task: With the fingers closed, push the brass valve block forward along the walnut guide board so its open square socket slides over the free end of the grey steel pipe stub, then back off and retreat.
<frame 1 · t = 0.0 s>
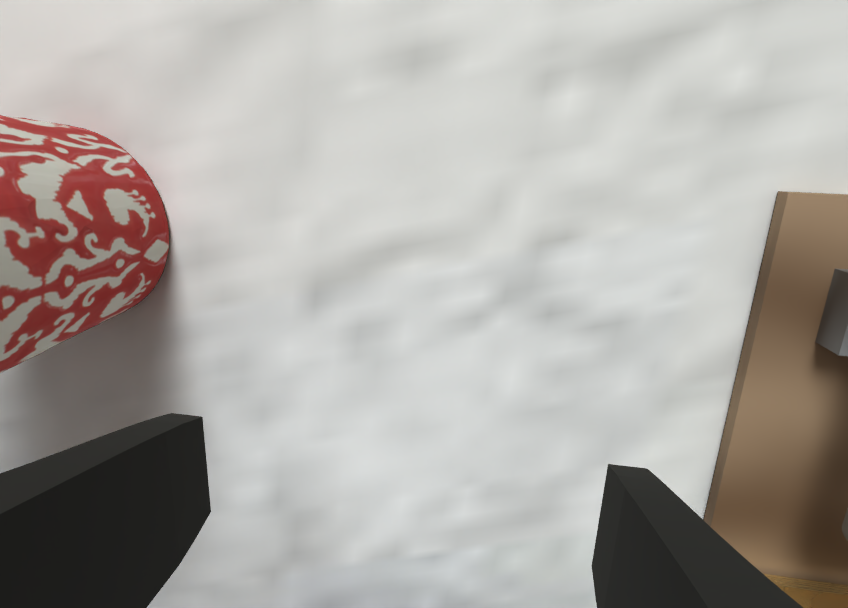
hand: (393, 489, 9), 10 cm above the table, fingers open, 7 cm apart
pipe bench: (820, 531, 19), on the table
mug: (49, 210, 20), on the table
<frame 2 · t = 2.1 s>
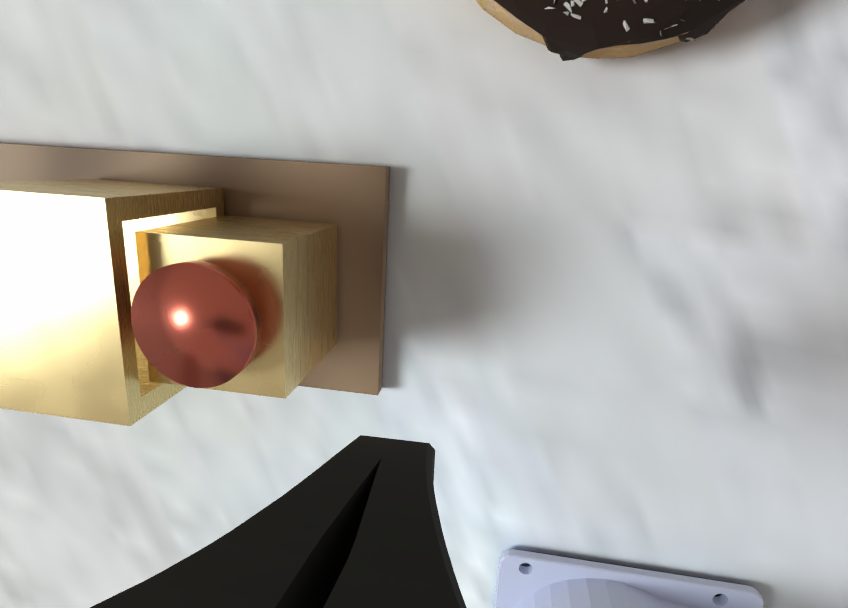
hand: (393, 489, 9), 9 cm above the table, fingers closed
pipe bench: (79, 256, 19), on the table
valve: (165, 292, 15), point 3 cm above the table, slide at 0.0 cm
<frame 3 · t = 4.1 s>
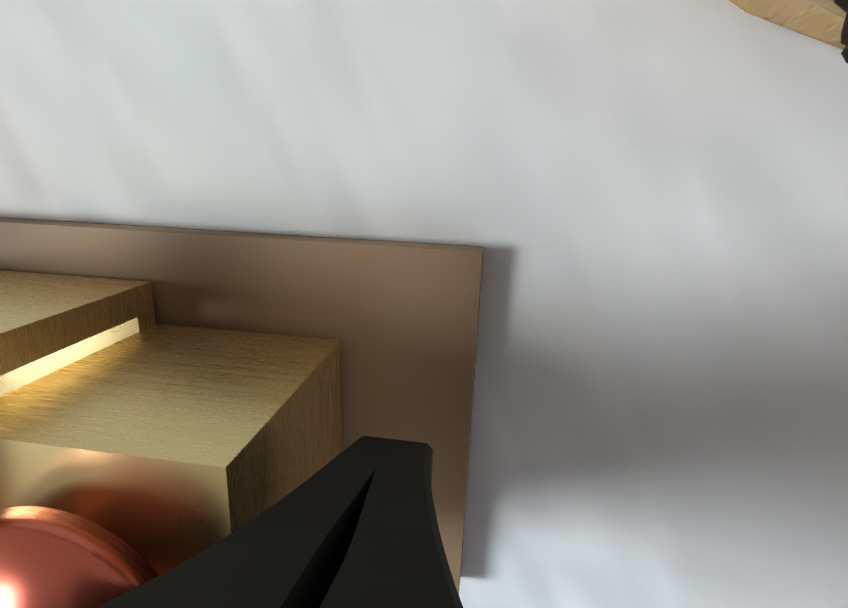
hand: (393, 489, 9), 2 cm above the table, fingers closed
valve: (40, 485, 9), point 3 cm above the table, slide at 1.2 cm, touching gripper
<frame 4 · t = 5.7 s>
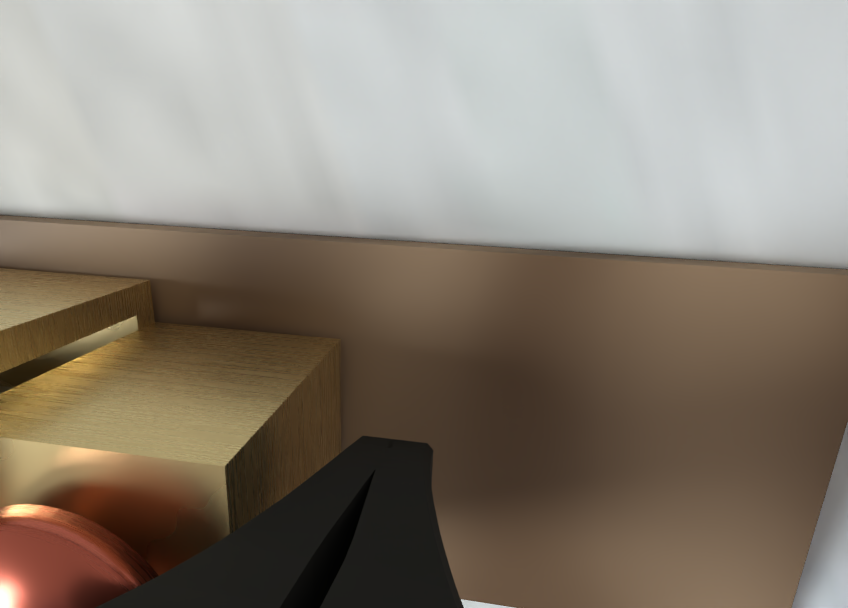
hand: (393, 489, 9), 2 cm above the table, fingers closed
pipe bench: (244, 403, 12), on the table
valve: (38, 483, 9), point 3 cm above the table, slide at 7.9 cm, touching gripper
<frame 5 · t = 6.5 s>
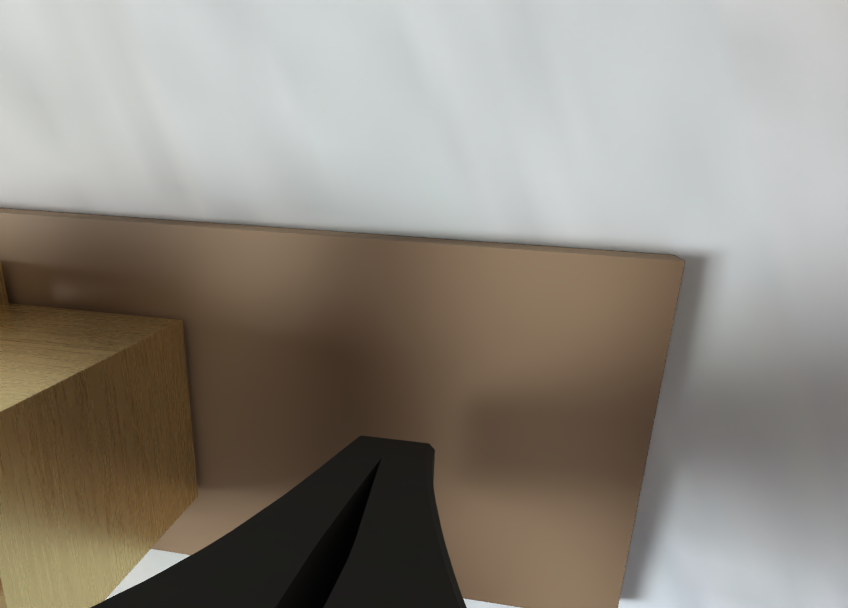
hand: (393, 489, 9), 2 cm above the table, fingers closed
pipe bench: (110, 384, 12), on the table
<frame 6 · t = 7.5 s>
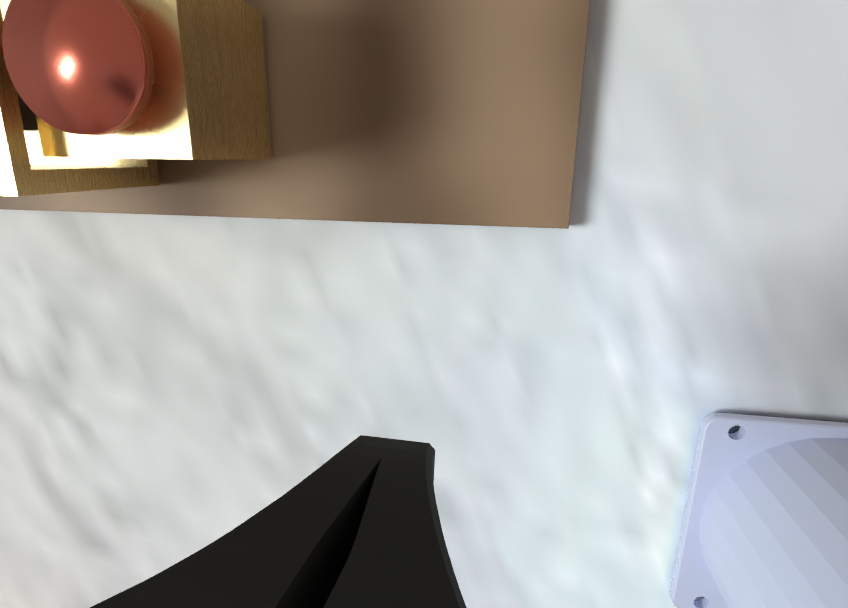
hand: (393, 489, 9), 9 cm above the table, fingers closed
pipe bench: (204, 92, 17), on the table
valve: (66, 76, 14), point 3 cm above the table, slide at 7.9 cm
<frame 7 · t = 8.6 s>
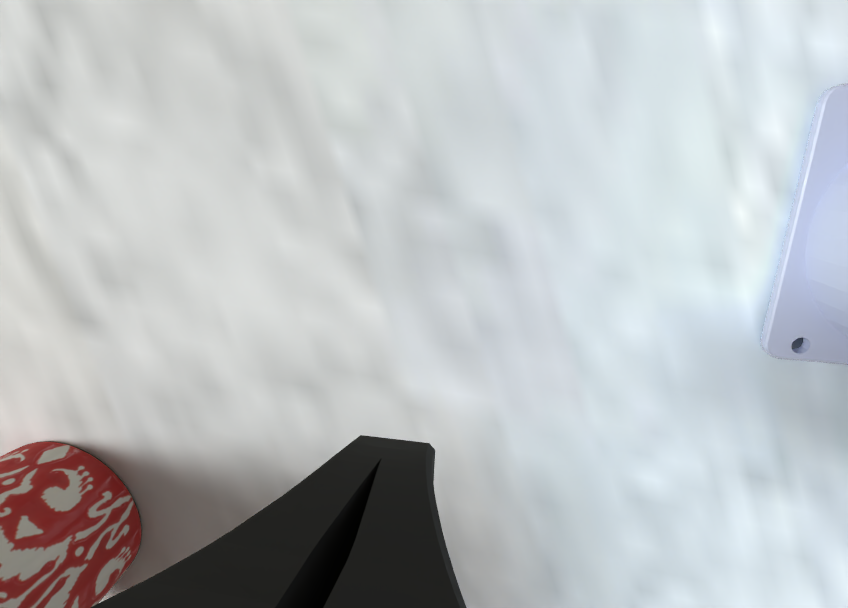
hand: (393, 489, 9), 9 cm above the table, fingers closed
mug: (70, 537, 24), on the table
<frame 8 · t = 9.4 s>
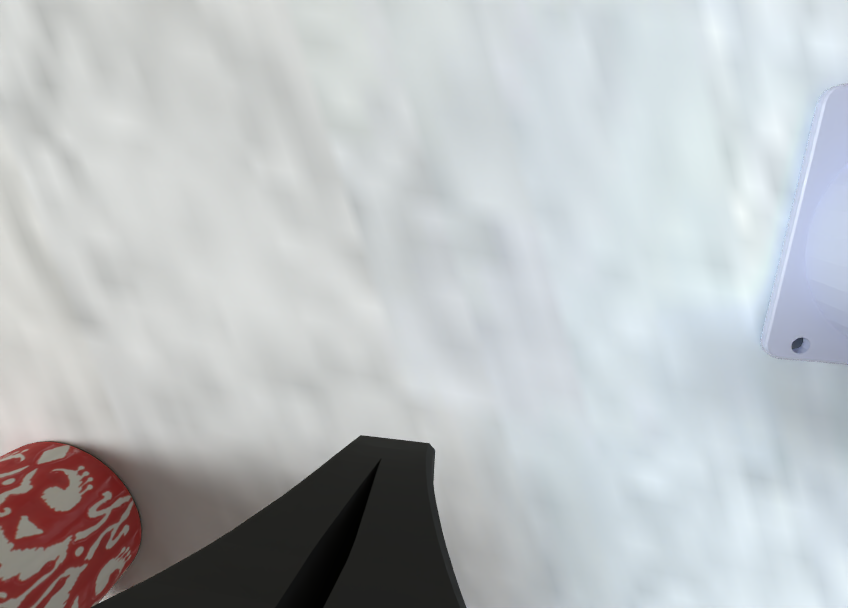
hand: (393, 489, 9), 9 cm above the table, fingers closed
mug: (70, 537, 24), on the table
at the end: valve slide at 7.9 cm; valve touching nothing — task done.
